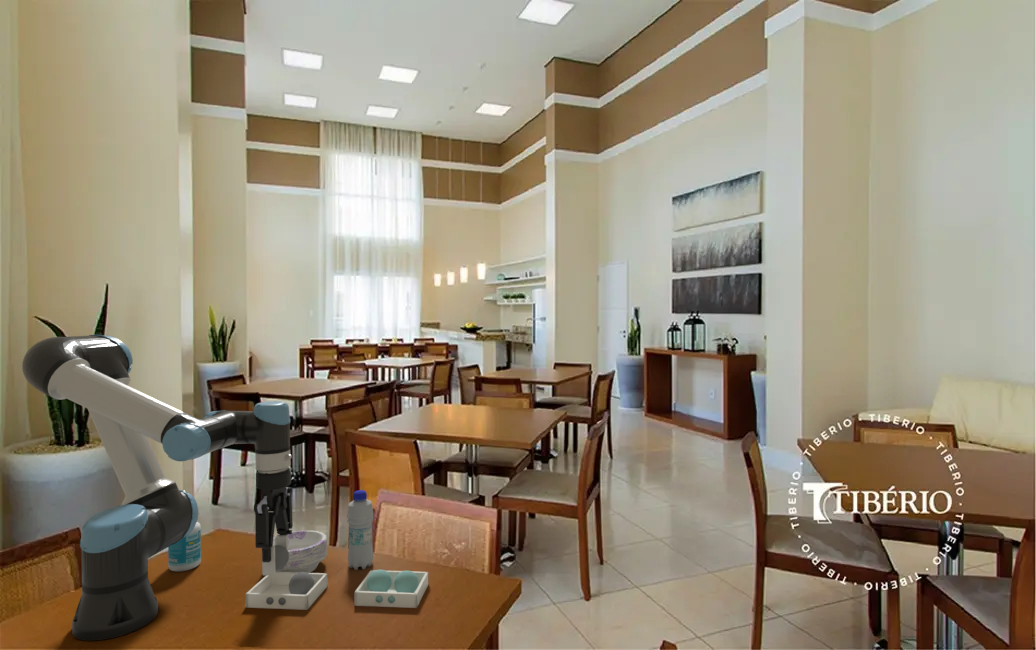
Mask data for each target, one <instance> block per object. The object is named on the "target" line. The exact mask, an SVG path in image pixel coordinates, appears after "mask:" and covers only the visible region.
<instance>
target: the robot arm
mask: <svg viewBox="0 0 1036 650" xmlns="http://www.w3.org/2000/svg"><path fill="white" fill-rule="evenodd" d="M21 364H22V365H21V366H22V367H21V369H22V374H23V376H24V378H25V379H26V381H27V382H28V384H29V385H30V386H32V387H33V388H34V389H36V390H37V391H38V392H40V393H42V394H44V395H46V396H49V397H50V398H52V399H54V400H66V399H67V400H69V401H70V402H73V403H75V404H77V405H79V406H81V407H84V408H85V409H87V411H88V413H89V415H90V417H91V420H92V422H93V424H94V427H95V429H96V431H97V434H98V437H99V439H100V441H101V443H102V445H103V448H104V450H105V452H106V454H107V457H108V459H109V461H110V463H111V466H112V468H113V471H114V473H115V474H116V477H117V479H118V482H119V485H120V486H121V489H122V491H123V493H124V498H123V500H122V502H121V504H120V505H116V506H114V507H109V508H106V509H104V510H101V511H99V512H97V513H95V514H93V515H92V516H90V517H89V518H88V519H86V520H85V522H84V523H83V525H82V527H81V535H80V537H81V538H80V541H79V546H80V558H81V559H80V561H81V596H80V598H79V601H78V604H77V607H76V609H75V614H74V616H73V619H72V623H71V631H72V632H71V634H72V636H73V637H74V638H75V639H77V640H79V641H81V640H82V641H87V642H88V641H91V642H93V641H104V640H109V639H113V638H117V637H121V636H124V635H128V634H130V633H132V632H134V631H137V630H139V629H141V628H143V627H145V626H146V625H148V624H149V623H151V622H152V621H153V620H155V618H156V617H157V615H158V614H159V601H158V598H157V596H156V595H155V594H154V590H153V588H152V585H151V583H150V580H149V559H150V558H151V557H152V556H154V555H156V554H158V553H160V552H162V551H164V550H165V549H167V548H168V547H169V546H171V545H173V544H175V543H178V542H179V541H181V540H182V539H183V538H184V537H186V536H187V535H188V534H189V533H190V532H191V531H192V530H193V529H194V527H195V525H196V522H198V520H199V506H198V502H197V500H196V498H195V497H194V495H192V494H191V493H190V492H189V493H188V492H187V491H186V490H182V489H179V487H178V484H177V483H176V481H175V480H172V479H170V478H169V479H168V478H167V477H166V475H165V473H164V471H163V469H162V467H161V464H160V462H159V459H158V458H157V455H156V453H155V451H154V449H153V446H152V444H151V441H150V440H151V439H152V440H153V441H155V442H158V443H159V444H161V445H162V449H163V451H164V453H165V454H166V455H167V457H168V458H169V459H171V460H173V461H176V462H187V461H190V460H195V459H199V458H200V457H203V456H204V455H207V454H209V453H212V452H214V451H218V450H220V449H223V448H225V447H228V446H231V445H234V444H235V445H238V444H239V445H241V444H242V445H243V444H249V445H254V451H255V452H254V453H255V454H254V455H255V464H254V465H255V470H256V473H255V488H256V489H258V490H260V491H261V496H260V497H261V498H260V502H259V503H255V504H254V506H253V511H254V514H255V516H254V517H255V521H254V522H255V525H254V526H255V527H254V528H255V537H254V538H255V548H256V549H261V566H262V567H261V568H262V569H261V570H262V572H261V573H262V576H266V575H275V574H276V568H275V546H276V545H280V546H283V547H285V548H286V549H287V551H288V535H287V534H292V532H293V530H292V529H293V526H294V525H293V504H292V503H293V499H292V497H293V487H289V486H290V485H291V483H292V468H290V466H291V464H292V463H291V462H292V461H291V459H292V458H293V455H292V454H291V417H290V406H289V404H288V403H287V402H286V401H283V400H282V401H280V400H277V401H276V400H273V401H261V402H258V403H256V404H255V405H254V407H253V411H252V410H227V409H226V410H225V409H222V410H216V411H215V410H214V411H210V412H208V413H206V415H205V416H204V417H203V418H197V417H195V416H193V415H192V414H188V413H186V412H184V411H182V410H180V409H178V408H176V407H174V406H171V405H169V404H167V403H165V402H163V401H161V400H158V398H157V399H156V398H155V397H152V396H150V395H148V394H146V393H144V392H142V391H140V390H138V389H136V388H134V387H132V386H129V384H130V382H131V377H130V376H129V373H130V372H131V370H132V368H133V367H132V365H133V355H132V352H131V350H130V349H129V346H127V345H126V343H124V342H123V341H122V340H120V339H119V338H117V337H115V336H111V335H102V334H89V335H78V336H77V335H75V336H53V337H52V336H51V337H48V338H45V339H42V340H40V341H38V342H36V343H35V344H33V345H32V346H31V347H30V348H29V349H28V350H27V351H26V353H25V354H24V356H23V359H22V363H21ZM149 439H150V440H149ZM275 528H276V533H277V535H275ZM273 537H275V546H273ZM287 563H288V562H287Z"/></svg>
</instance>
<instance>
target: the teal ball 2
mask: <svg viewBox="0 0 1036 650" xmlns="http://www.w3.org/2000/svg"><path fill="white" fill-rule="evenodd" d="M401 571H402V572H400V573H399V574H398V575H397V576H396V578H395V582H394V587H395V590H396V592H403V593H414V592H415V591H416V589H417V587H418V578H417V576H416V574H415V573H414V572H412V571H411V570H408V569H407V570H401Z"/></svg>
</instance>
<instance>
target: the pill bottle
mask: <svg viewBox="0 0 1036 650" xmlns="http://www.w3.org/2000/svg"><path fill="white" fill-rule="evenodd" d="M201 526H202V525H201V523H200V522H199V521H197V522H196V525H195V527H194V529H193V530H192V531H191V532H190V533H189V534H188V535H187V536H186V537H184V538H183V539H182V540H181V541H179V542H178V543H175V544H173V545H171V546H169V547H167V548H168V549H167V554H168V555H167V556H168V557H167V559H168V560H167V562H168V563H167V564H168V565H167V567H168V569H169V570H170V571H172V572H185V571H189V570H192V569H195V568H197V567H198V566H199V565H201V562H202V543H201V542H202V533H201V532H202V528H201Z"/></svg>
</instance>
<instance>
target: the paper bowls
mask: <svg viewBox="0 0 1036 650" xmlns="http://www.w3.org/2000/svg"><path fill="white" fill-rule="evenodd" d="M287 535H288V553H289V560H288V563H287V564H286V565H285V566H284V567H283V568H282V569H280V570H277V571H276V572H307V573H313V571H315V570H316V569H317V567H318V565H319V563H321V562H323V561H324V560H325V559H326V558H327V556H328V538H327V537H328V536H327V535H326V533H324V532H321V531H317V530H311V529H309V530H305V529H304V530H296V531H295V530H294V531H292V534H287ZM273 546H275V536H274V537H273Z"/></svg>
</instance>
